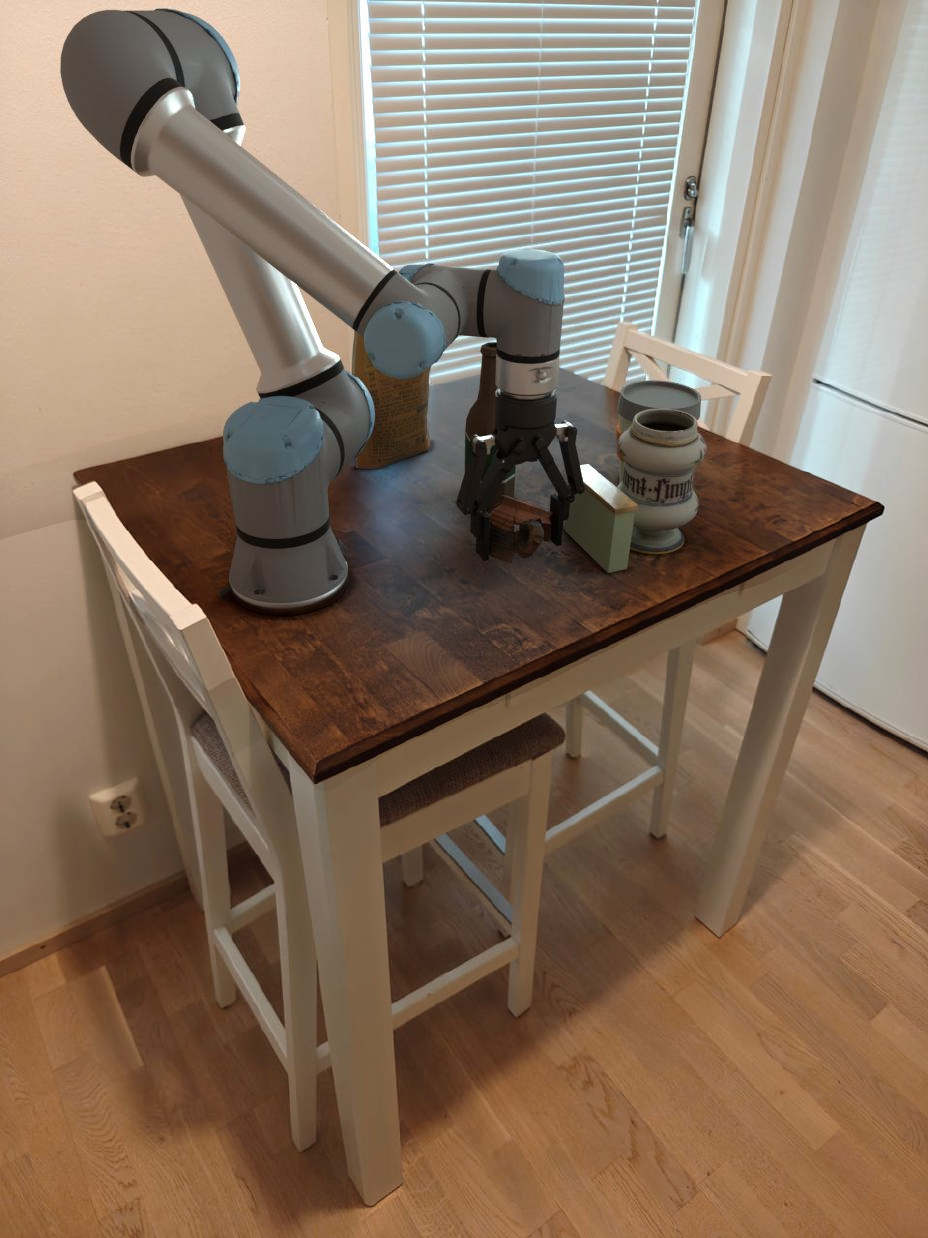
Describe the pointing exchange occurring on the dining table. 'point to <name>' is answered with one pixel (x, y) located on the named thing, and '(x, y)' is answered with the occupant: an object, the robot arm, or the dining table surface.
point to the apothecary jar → (661, 476)
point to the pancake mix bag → (392, 412)
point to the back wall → (602, 521)
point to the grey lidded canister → (653, 403)
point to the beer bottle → (487, 418)
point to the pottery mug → (530, 530)
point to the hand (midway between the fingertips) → (518, 548)
